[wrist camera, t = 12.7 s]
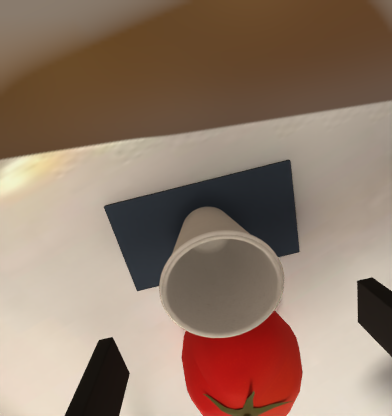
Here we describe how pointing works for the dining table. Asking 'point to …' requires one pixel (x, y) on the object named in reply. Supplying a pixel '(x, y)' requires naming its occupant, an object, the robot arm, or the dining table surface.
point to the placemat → (205, 197)
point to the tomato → (244, 371)
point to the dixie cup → (219, 277)
